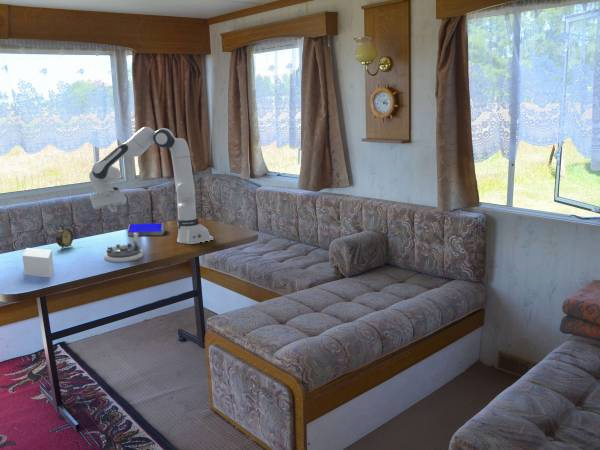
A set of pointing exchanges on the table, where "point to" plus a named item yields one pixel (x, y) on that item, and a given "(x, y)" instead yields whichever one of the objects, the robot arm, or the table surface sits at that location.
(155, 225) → the blue screen device
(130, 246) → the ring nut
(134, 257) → the base plate
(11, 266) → the table surface
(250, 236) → the table surface
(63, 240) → the alarm clock
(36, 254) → the white box
